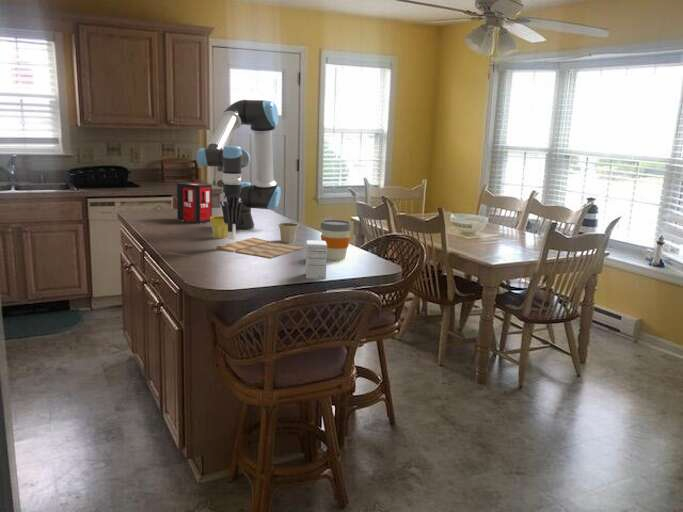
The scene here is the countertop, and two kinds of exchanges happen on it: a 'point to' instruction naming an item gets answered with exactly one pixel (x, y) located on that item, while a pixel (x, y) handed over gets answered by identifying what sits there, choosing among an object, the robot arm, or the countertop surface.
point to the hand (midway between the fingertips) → (231, 239)
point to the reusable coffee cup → (336, 238)
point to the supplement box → (316, 259)
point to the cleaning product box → (194, 202)
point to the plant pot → (219, 227)
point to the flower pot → (288, 232)
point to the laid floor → (270, 250)
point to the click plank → (241, 244)
